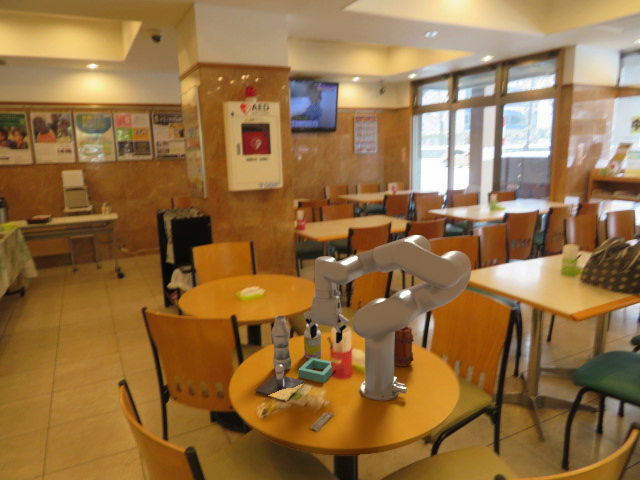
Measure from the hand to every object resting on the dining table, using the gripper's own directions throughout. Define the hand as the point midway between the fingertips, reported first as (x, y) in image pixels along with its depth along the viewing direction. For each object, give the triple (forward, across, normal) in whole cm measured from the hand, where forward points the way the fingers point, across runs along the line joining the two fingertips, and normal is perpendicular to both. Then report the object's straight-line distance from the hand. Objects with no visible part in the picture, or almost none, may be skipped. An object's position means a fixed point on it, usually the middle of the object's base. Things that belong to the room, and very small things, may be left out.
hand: (326, 339), depth 153 cm
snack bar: (+14, -10, +25) cm, 31 cm away
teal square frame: (+14, +4, 0) cm, 14 cm away
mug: (+14, -20, -20) cm, 31 cm away
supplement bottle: (+14, +12, -12) cm, 22 cm away
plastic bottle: (+14, +17, +2) cm, 22 cm away
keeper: (+14, +10, +14) cm, 22 cm away
